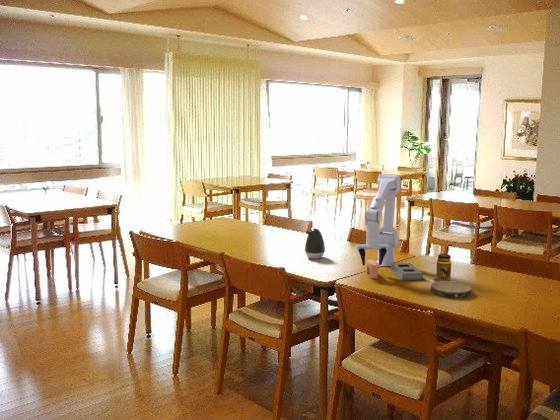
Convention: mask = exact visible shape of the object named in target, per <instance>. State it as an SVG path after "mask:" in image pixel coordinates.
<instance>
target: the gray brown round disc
mask: <svg viewBox="0 0 560 420" xmlns="http://www.w3.org/2000/svg"><path fill="white" fill-rule="evenodd" d="M430 285H431V286H430V292H431V294H433V295H434V296H437V297H440V298H447V299H450V300H451V299H453V300H457V299H459V300H460V299H467V298H470V297H471V296H472V289H473V288H472V286H471V285H470V284H468V283H465V282H460V281H455V280H454V281H437V282H436V281H435V282H431V284H430Z"/></svg>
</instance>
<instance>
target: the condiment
mask: <svg viewBox="0 0 560 420" xmlns="http://www.w3.org/2000/svg"><path fill="white" fill-rule="evenodd" d="M451 256H452V255H450V254H448V253H440V254H438V255H437V260H436V271H435V272H436V274H435V275H436V276H435V277H432V279H430V280H429V282H430V283H434V282H437V281H453V279H451V273H452V272H451V271H452V261H451V259H452V257H451Z"/></svg>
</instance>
